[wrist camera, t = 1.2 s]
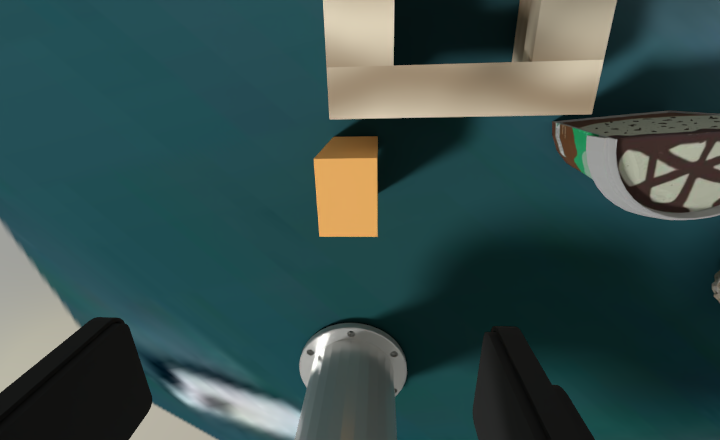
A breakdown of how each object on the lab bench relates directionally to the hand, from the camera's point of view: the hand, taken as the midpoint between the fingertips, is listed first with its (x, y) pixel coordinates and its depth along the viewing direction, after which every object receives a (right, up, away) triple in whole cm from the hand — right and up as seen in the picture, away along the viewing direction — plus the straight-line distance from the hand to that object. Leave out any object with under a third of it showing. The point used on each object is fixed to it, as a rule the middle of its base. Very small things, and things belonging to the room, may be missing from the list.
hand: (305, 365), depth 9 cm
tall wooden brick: (+1, +9, +23) cm, 24 cm away
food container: (+23, +10, +21) cm, 33 cm away
